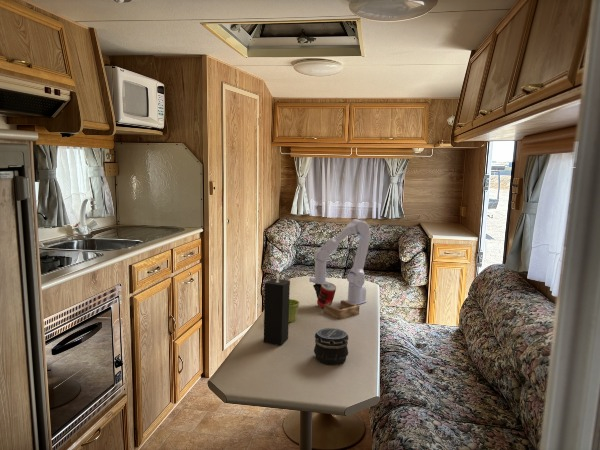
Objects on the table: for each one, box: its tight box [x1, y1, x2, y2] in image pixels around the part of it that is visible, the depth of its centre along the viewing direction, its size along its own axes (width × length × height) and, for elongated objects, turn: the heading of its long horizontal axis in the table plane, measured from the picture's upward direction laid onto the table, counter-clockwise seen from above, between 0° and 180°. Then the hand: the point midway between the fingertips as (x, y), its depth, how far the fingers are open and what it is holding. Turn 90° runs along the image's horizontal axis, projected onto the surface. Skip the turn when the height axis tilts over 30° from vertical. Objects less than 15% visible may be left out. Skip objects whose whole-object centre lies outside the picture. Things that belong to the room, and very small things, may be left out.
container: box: [313, 327, 349, 366], centre depth 162 cm, size 13×13×10 cm
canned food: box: [316, 281, 337, 309], centre depth 221 cm, size 8×8×11 cm
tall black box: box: [263, 273, 291, 346], centre depth 175 cm, size 8×8×28 cm
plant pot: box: [289, 298, 300, 323], centre depth 201 cm, size 9×9×9 cm
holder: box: [323, 299, 360, 320], centre depth 213 cm, size 13×12×4 cm
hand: (319, 298), depth 226 cm, fingers closed
